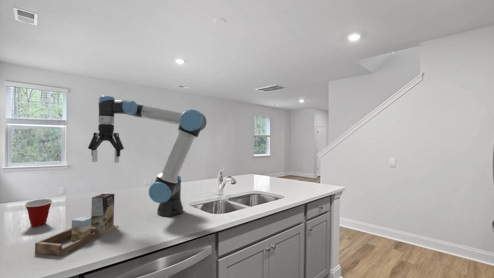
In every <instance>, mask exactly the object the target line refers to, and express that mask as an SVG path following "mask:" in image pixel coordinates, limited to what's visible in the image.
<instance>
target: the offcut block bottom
mask: <svg viewBox="0 0 494 278" xmlns="http://www.w3.org/2000/svg"><path fill="white" fill-rule="evenodd" d="M90 234H91V231H90V232H88V233H86V234H84V235H82V234H72V238H70V240H71V241H74V242H76V241H78V240H80V239H82V238H84V237H86V236H88V235H90Z"/></svg>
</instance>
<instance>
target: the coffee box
mask: <svg viewBox="0 0 494 278" xmlns="http://www.w3.org/2000/svg"><path fill="white" fill-rule="evenodd" d="M90 216H91V217H90V218H91V227H94V228H97V231H105V230H106V229H108V228H109V227H111V226H112V225H115V224H114V223H115V193H101V194H98V195H95V196H92V197H91V215H90Z"/></svg>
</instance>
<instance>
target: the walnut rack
mask: <svg viewBox="0 0 494 278" xmlns="http://www.w3.org/2000/svg"><path fill="white" fill-rule="evenodd" d="M99 237H100V233H99V231H97V228H94V227H91V234H90V235H88V236H86V237H84V238H82V239H80V240H78V241H73V242H72V243H71V242H70V244H68V245H66V246H63V244H62V243H63V242H65V241H67V240H71V238H72V227H71V228H67V229H65V230H63V231H60V232H58V233H56V234H54V235H51V236H49V237H46V238H44V239H41V240H39V241H37V242H35V244H34V254H37V255H38V254H39V255H49V256H59V257H63V256H64V255H66V254H68V253H71V252H72V251H74V250H76V249H78V248H79V247H82V246H85V244H88V243H90V242H92V241H93V240H95V239H97V238H99Z"/></svg>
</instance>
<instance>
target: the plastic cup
mask: <svg viewBox="0 0 494 278" xmlns="http://www.w3.org/2000/svg"><path fill="white" fill-rule="evenodd" d="M52 204H53V199H50V198H45V199H44V198H41V199H40V198H39V199H36V200H35V199H34V200H31V201H28V202H26V203H24V206H25V208H26V210H27V215H28V216H27V217H28V219H29V225H30V226H31V227H34V228H36V227H41V226H45V225H46V224H47V221H48V218H49V213H50V208H51V205H52Z"/></svg>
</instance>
